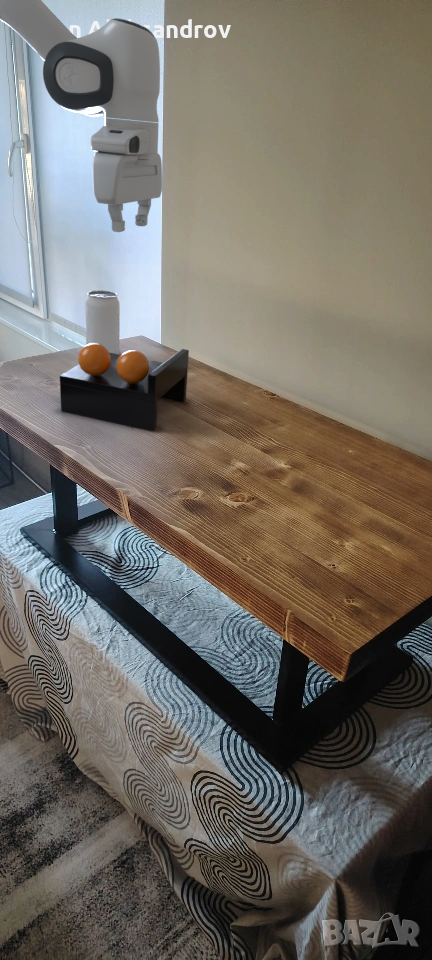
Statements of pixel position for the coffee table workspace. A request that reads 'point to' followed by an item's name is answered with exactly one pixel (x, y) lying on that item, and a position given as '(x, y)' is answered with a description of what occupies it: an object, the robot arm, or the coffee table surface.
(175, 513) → the coffee table surface
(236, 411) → the coffee table surface
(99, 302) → the can
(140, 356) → the rack
